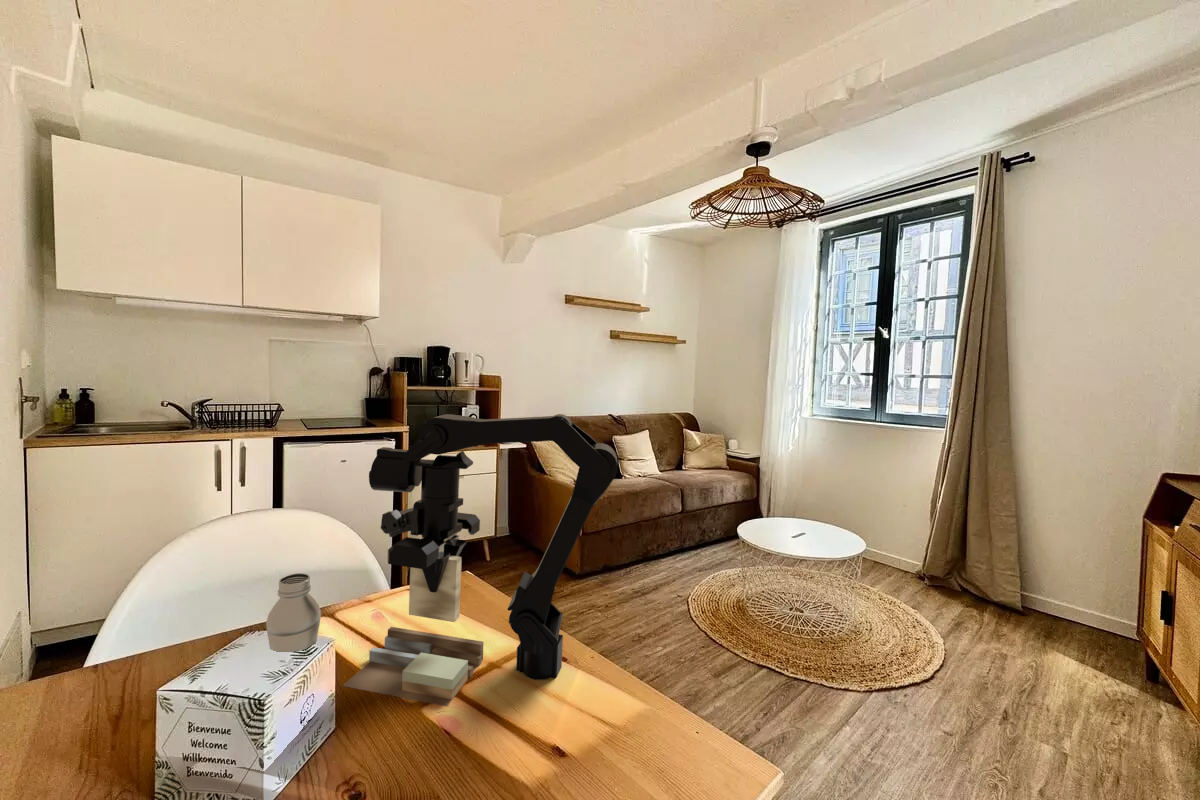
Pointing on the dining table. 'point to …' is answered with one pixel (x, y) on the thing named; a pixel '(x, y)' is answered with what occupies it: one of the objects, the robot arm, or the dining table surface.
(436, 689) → the oak offcut
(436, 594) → the birch sheet
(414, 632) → the walnut rack
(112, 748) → the dining table surface
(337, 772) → the dining table surface
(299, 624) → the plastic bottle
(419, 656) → the sage offcut
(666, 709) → the dining table surface
